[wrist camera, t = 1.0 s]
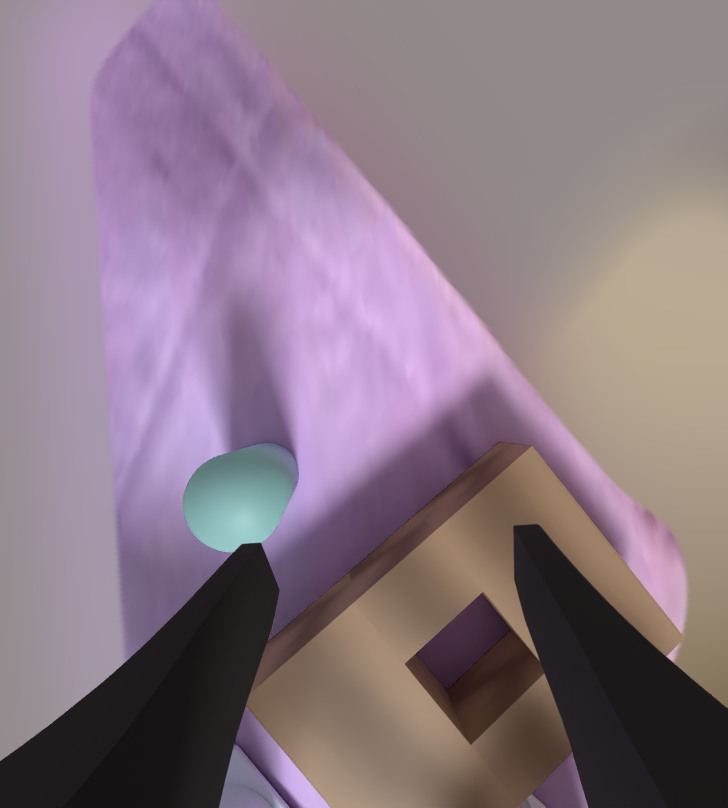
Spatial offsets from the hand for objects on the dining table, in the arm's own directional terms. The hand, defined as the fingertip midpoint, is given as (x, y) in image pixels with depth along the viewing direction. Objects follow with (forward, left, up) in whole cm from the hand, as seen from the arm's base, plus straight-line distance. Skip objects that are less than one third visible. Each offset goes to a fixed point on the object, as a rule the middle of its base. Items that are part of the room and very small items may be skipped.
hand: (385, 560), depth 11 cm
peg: (-4, +4, -13) cm, 14 cm away
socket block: (-1, -11, -13) cm, 17 cm away
